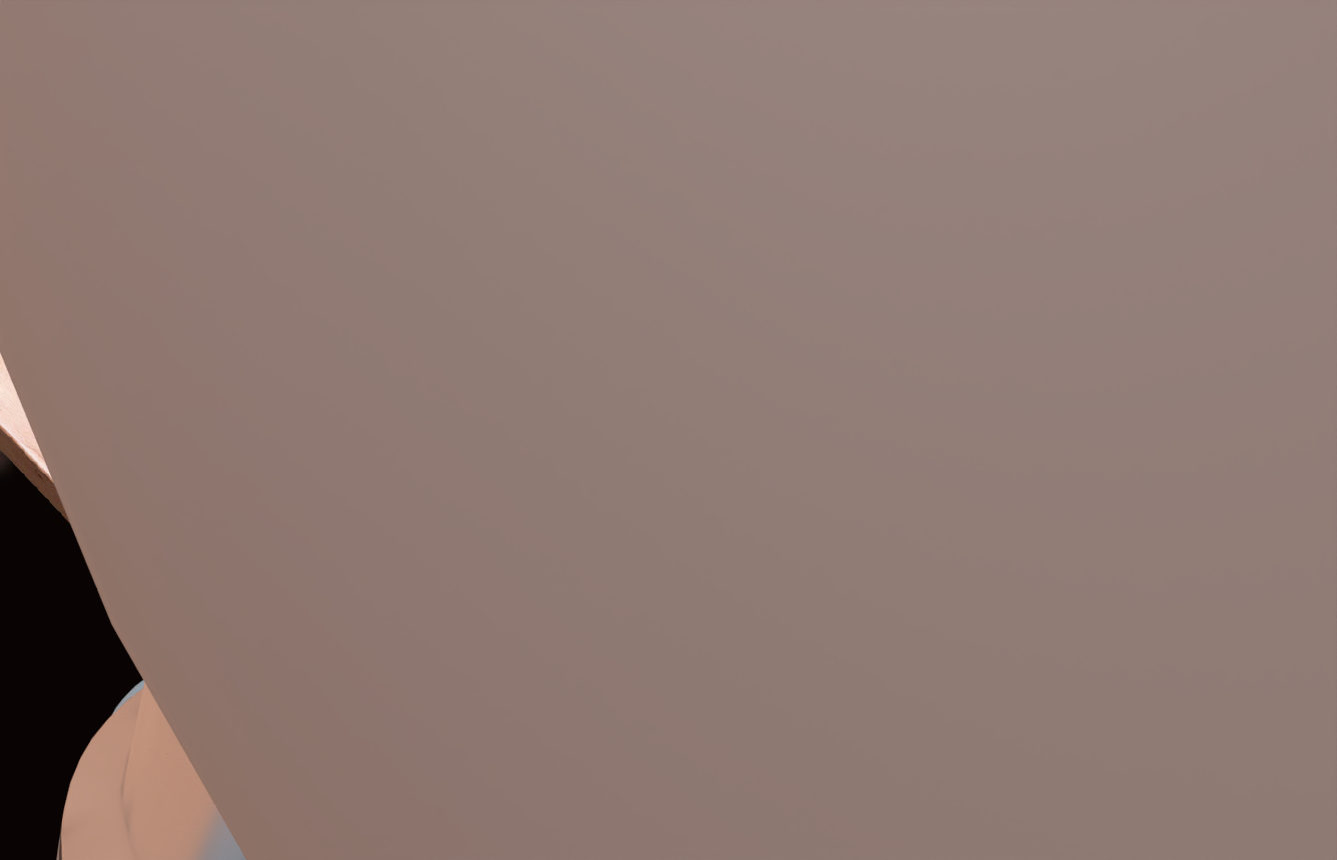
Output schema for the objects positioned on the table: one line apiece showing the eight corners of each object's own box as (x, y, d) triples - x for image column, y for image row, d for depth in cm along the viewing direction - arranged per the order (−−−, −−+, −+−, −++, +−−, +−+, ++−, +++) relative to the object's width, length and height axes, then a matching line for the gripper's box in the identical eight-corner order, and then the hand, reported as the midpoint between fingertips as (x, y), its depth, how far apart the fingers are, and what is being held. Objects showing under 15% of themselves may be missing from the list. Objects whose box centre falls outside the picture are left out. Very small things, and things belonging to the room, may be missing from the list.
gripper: (748, 1010, 51) (342, 758, 59) (889, 737, 59) (516, 551, 68) (753, 951, 45) (304, 682, 54) (908, 659, 54) (499, 467, 62)
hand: (423, 609), depth 61 cm, fingers closed on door, 2 cm apart
